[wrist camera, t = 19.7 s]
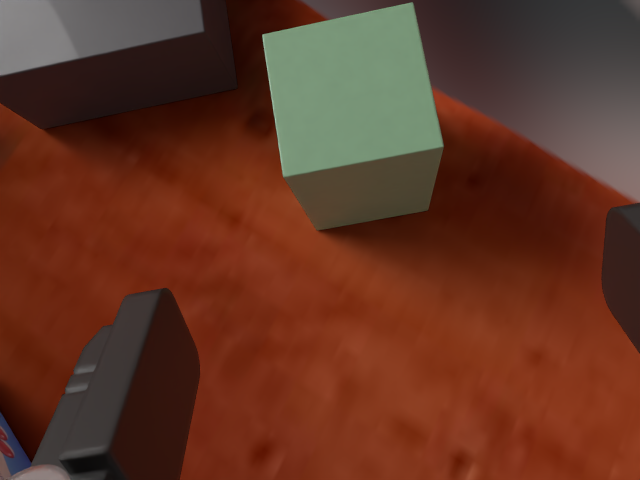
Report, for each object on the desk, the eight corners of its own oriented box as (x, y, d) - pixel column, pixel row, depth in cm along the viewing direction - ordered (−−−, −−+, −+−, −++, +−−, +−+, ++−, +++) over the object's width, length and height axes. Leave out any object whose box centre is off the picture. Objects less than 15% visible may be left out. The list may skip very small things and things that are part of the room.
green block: (316, 230, 26) (283, 177, 18) (299, 127, 27) (261, 33, 19) (428, 210, 25) (444, 146, 17) (407, 105, 26) (413, 1, 18)
